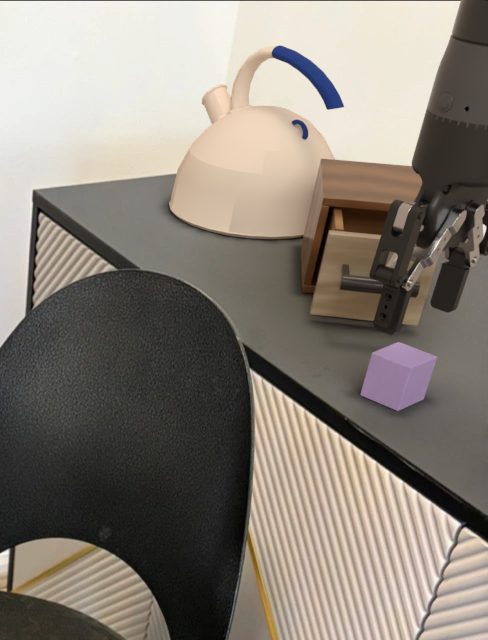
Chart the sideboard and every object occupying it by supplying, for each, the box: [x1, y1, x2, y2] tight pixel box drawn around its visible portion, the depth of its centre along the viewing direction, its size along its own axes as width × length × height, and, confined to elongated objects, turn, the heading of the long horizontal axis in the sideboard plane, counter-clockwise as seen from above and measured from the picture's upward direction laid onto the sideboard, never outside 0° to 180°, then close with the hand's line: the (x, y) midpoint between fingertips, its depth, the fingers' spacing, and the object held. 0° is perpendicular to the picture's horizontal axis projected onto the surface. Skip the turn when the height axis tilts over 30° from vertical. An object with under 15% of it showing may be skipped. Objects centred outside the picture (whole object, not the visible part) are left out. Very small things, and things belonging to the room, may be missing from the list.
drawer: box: [309, 206, 440, 326], centre depth 111 cm, size 18×10×8 cm, turn 167°
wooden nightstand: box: [300, 159, 422, 295], centre depth 120 cm, size 15×12×10 cm
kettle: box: [168, 45, 345, 240], centre depth 132 cm, size 20×21×18 cm
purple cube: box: [359, 341, 438, 412], centre depth 98 cm, size 4×4×4 cm
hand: (414, 319), depth 95 cm, fingers open, 8 cm apart
